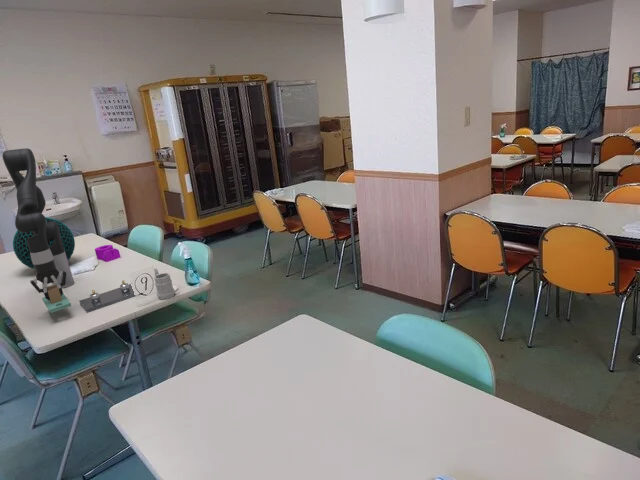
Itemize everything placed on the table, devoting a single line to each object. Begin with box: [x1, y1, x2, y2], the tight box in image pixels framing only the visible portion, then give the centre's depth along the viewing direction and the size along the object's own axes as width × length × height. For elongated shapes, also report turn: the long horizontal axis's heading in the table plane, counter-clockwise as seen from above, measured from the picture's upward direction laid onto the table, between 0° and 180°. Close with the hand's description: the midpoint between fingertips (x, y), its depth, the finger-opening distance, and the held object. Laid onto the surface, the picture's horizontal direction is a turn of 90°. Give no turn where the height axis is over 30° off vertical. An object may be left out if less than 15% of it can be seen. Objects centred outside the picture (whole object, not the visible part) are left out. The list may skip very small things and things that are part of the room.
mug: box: [153, 267, 176, 300], centre depth 200 cm, size 8×12×12 cm, turn 43°
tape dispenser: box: [94, 244, 122, 263], centre depth 267 cm, size 16×10×6 cm, turn 47°
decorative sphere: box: [12, 217, 76, 270], centre depth 256 cm, size 30×30×30 cm
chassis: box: [78, 279, 136, 313], centre depth 204 cm, size 14×24×6 cm, turn 129°
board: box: [41, 284, 72, 314], centre depth 192 cm, size 18×8×8 cm, turn 39°
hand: (54, 297), depth 192 cm, fingers closed on board, 4 cm apart
